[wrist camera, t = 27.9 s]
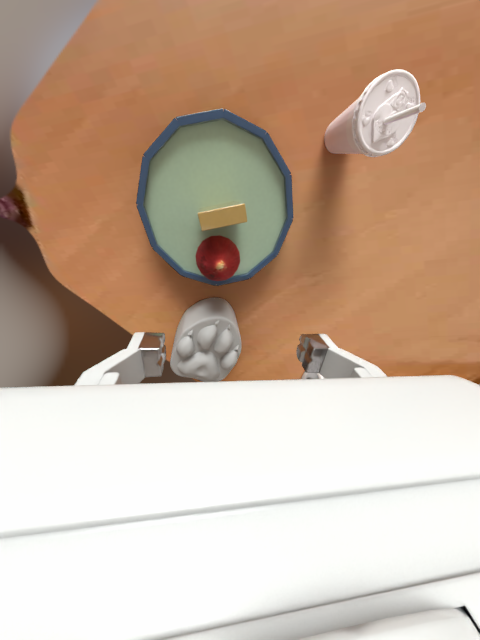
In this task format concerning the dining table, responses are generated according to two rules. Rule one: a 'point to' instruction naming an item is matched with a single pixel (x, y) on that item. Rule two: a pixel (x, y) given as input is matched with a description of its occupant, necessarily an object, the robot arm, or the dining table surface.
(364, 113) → the smoothie
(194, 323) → the lumpy-topped squat cylinder
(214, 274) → the onion
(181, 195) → the plate
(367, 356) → the dining table surface
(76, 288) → the dining table surface
